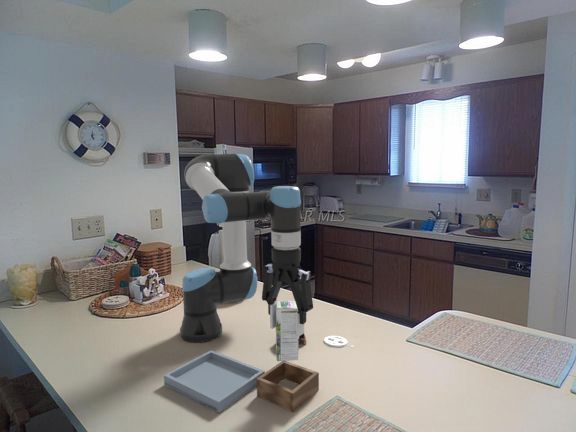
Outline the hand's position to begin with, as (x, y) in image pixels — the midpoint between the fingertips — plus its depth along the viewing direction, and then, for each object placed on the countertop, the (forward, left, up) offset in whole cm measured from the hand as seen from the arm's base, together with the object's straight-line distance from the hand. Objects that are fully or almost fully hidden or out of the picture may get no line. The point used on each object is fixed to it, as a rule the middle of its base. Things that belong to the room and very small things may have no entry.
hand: (287, 330), depth 107 cm
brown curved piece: (-17, +25, -18) cm, 35 cm away
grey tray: (-20, -8, -18) cm, 28 cm away
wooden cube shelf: (0, 0, -18) cm, 18 cm away
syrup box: (0, 0, -7) cm, 7 cm away
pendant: (-3, +34, -18) cm, 39 cm away
